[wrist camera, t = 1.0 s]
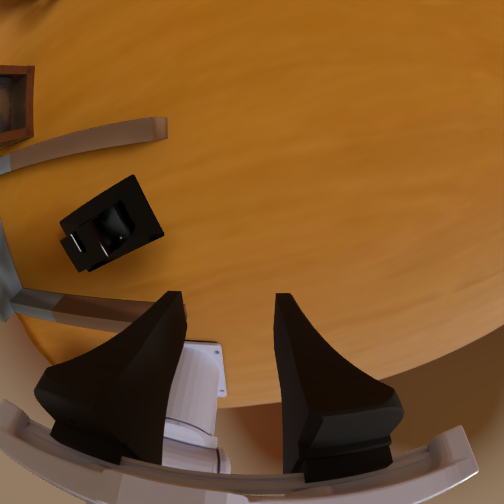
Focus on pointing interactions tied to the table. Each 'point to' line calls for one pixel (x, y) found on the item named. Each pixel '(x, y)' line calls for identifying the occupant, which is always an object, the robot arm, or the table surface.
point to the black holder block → (109, 226)
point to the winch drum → (16, 104)
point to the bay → (63, 305)
